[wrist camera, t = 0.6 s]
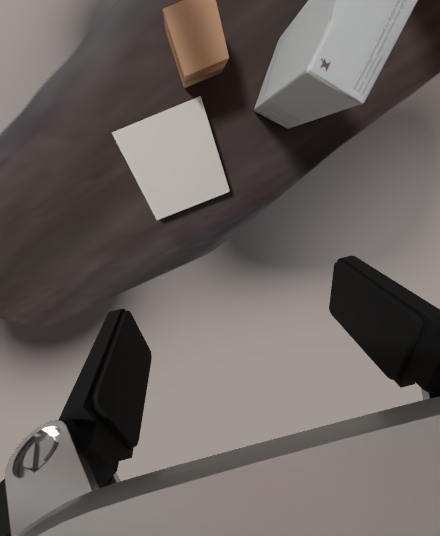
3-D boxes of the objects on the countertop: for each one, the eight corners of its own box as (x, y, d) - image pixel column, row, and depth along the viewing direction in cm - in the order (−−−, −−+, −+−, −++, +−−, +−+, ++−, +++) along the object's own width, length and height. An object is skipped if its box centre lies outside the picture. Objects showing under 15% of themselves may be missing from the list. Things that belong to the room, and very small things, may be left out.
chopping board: (200, 98, 27) (200, 96, 26) (228, 190, 33) (230, 191, 32) (114, 133, 28) (111, 132, 27) (157, 218, 34) (156, 220, 33)
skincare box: (287, 129, 30) (363, 114, 18) (250, 109, 29) (304, 76, 16) (318, 56, 27) (442, -29, 14) (279, 29, 25) (379, -98, 12)
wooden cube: (207, 17, 24) (212, -13, 20) (221, 73, 26) (229, 57, 22) (166, 34, 24) (162, 9, 20) (184, 88, 27) (184, 76, 22)
